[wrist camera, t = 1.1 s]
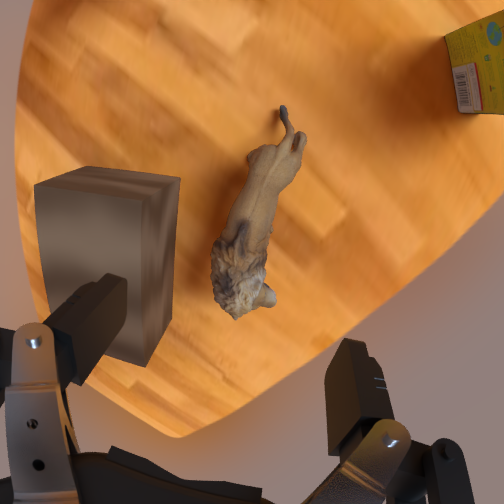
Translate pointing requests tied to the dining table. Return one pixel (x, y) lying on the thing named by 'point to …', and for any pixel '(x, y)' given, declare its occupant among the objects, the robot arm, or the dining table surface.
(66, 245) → the brown wooden block
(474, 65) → the crayon box
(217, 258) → the lion figurine
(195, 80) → the dining table surface
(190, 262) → the dining table surface
